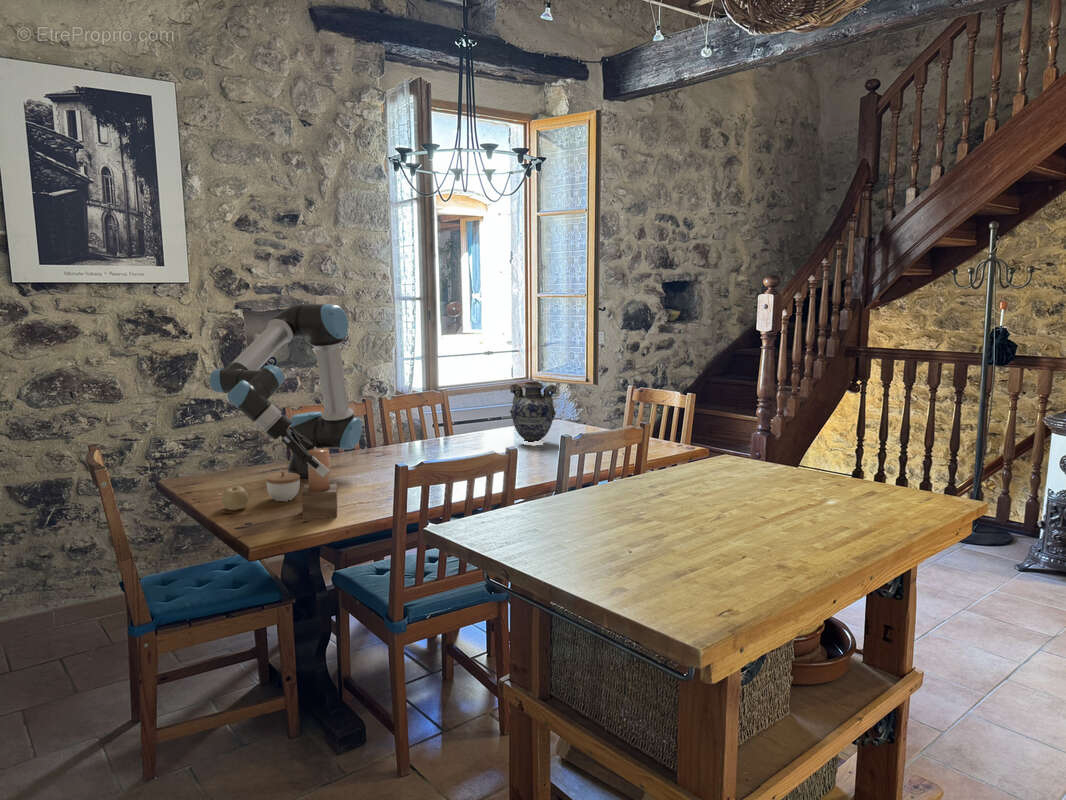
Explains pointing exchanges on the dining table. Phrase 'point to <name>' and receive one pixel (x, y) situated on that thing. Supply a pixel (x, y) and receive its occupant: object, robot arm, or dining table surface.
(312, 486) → the dome-topped peach cylinder
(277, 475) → the lidded jar
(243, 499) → the apple
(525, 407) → the decorative vase
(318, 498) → the walnut crate
